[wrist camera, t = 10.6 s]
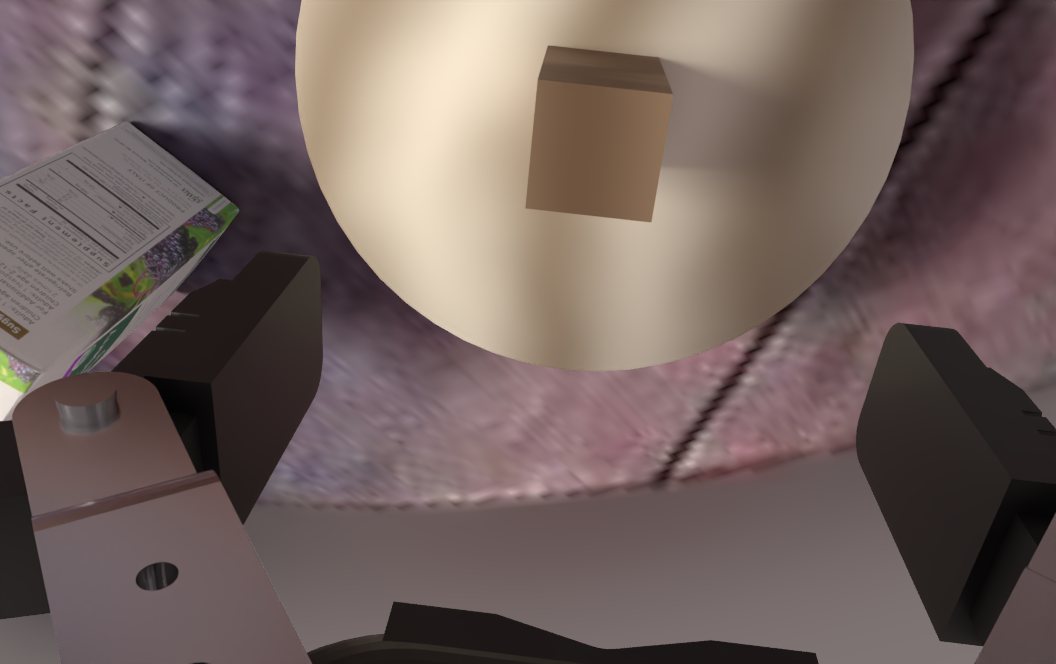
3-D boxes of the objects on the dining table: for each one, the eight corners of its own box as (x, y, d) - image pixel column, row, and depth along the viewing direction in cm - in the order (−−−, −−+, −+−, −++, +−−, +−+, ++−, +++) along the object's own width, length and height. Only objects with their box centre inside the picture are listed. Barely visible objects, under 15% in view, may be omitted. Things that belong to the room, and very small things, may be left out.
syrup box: (175, 295, 38) (-37, 501, 25) (59, 209, 37) (-230, 382, 24) (244, 207, 36) (49, 382, 23) (123, 112, 34) (-157, 243, 22)
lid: (992, -217, 22) (1121, -253, 16) (816, 384, 30) (863, 490, 25) (295, -288, 22) (200, -345, 17) (312, 326, 30) (253, 418, 25)
